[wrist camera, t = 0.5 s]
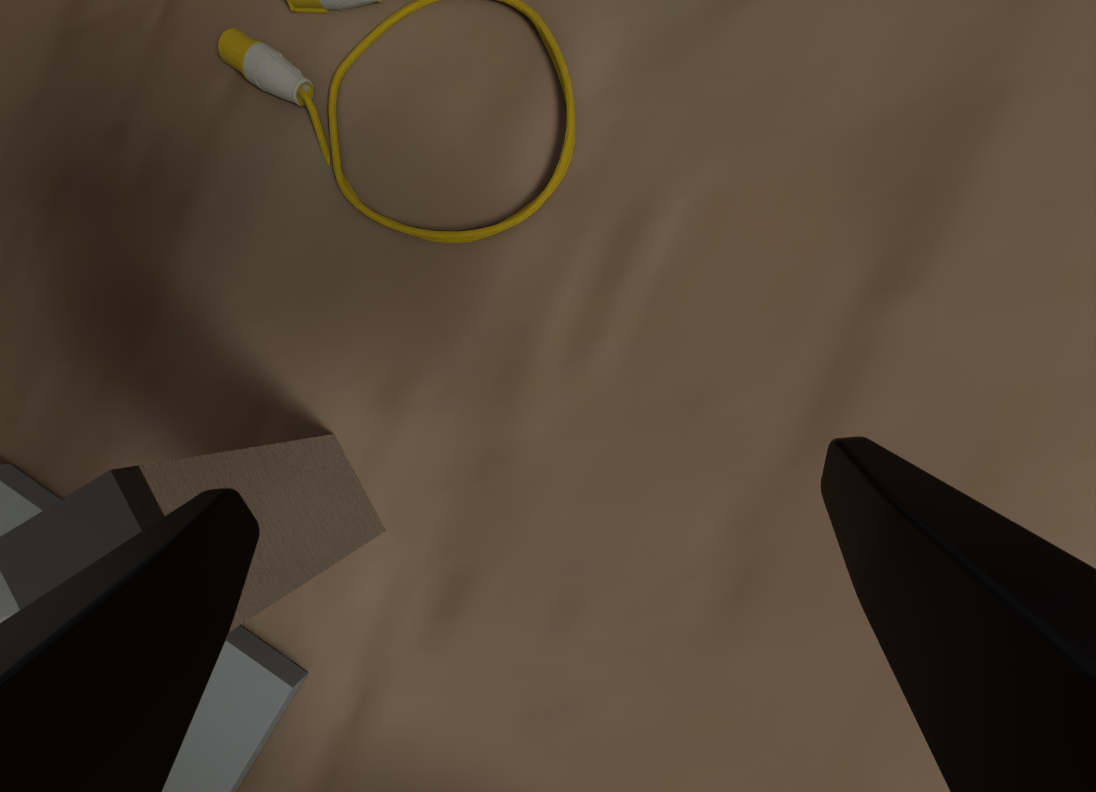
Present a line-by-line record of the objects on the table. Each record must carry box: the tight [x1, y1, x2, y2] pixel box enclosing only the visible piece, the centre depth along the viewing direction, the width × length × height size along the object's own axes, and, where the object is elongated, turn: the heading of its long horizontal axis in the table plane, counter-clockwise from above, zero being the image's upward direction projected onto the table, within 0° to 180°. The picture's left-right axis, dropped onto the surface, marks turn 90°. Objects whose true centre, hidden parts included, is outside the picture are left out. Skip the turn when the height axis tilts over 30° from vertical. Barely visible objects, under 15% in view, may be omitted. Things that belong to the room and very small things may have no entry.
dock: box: [0, 464, 308, 792], centre depth 23 cm, size 18×14×5 cm
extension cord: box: [218, 0, 575, 243], centre depth 23 cm, size 12×16×2 cm
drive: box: [0, 434, 386, 632], centre depth 19 cm, size 5×4×11 cm
